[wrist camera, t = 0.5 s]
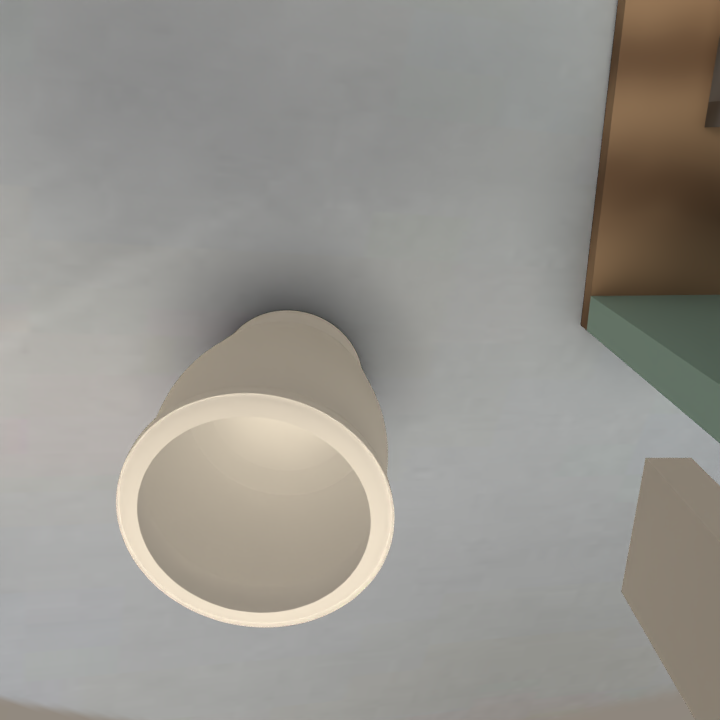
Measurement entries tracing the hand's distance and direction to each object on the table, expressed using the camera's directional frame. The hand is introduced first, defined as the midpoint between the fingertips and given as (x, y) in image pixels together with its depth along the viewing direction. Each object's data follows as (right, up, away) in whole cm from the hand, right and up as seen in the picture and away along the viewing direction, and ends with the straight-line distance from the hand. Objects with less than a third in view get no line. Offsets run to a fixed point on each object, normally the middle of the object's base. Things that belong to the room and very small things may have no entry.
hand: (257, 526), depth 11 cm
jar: (-2, +2, +27) cm, 27 cm away
